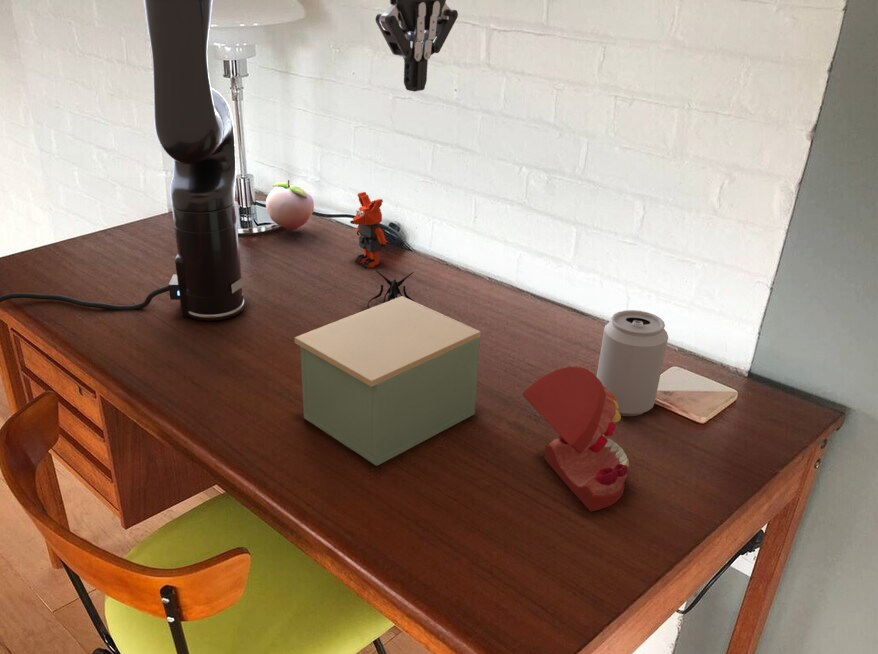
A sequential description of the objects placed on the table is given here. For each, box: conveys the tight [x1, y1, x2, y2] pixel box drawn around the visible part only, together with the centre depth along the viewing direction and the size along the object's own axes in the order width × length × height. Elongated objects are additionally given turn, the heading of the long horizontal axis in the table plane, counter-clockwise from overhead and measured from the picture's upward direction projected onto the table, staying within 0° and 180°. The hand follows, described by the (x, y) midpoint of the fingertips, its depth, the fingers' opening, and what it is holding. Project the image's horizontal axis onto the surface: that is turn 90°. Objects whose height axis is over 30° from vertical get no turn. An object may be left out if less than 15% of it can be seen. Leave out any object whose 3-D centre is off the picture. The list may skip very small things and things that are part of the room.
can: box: [596, 309, 669, 417], centre depth 103 cm, size 8×8×12 cm
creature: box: [367, 269, 416, 309], centre depth 130 cm, size 8×5×8 cm
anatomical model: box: [522, 366, 630, 513], centre depth 89 cm, size 10×8×15 cm
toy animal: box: [349, 191, 387, 268], centre depth 144 cm, size 8×6×12 cm
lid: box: [294, 295, 482, 387], centre depth 98 cm, size 17×14×1 cm
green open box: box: [299, 337, 481, 467], centre depth 101 cm, size 17×14×11 cm
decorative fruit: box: [265, 179, 315, 232], centre depth 159 cm, size 9×8×10 cm
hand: (414, 90), depth 108 cm, fingers closed
